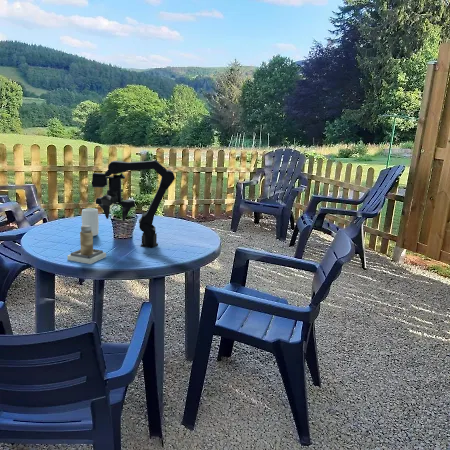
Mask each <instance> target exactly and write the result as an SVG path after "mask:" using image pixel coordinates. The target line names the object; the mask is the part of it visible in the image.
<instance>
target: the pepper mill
mask: <svg viewBox="0 0 450 450" xmlns="http://www.w3.org/2000/svg"><path fill="white" fill-rule="evenodd" d="M79 239H80V240H79V242H80V249H81V254H82V255H87V256H89V255H91V254H93V249H94V240H93V239H94V236H93V232H92V231H91V226H90V225H84V226H82V225H81V226H80V232H79Z"/></svg>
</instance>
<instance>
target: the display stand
mask: <svg viewBox="0 0 450 450" xmlns="http://www.w3.org/2000/svg"><path fill="white" fill-rule="evenodd" d="M66 257H67V261H71V262H78V263H82V264H88V265H91V264H94V263H96V262H99V261H100V260H102V259H105V258H107V252H106V251H104V250H101V249H96V248H95V249H94V248H93V254H91V255H89V256H87V255H82V254H81V248H80V249H78V250H75V251H73V252H71V253H70V254H68V255H66Z"/></svg>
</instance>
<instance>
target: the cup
mask: <svg viewBox="0 0 450 450" xmlns="http://www.w3.org/2000/svg"><path fill="white" fill-rule="evenodd" d="M99 218H100V217H99V210H98V208H94V207H91V208H90V207H89V208H88V207H87V208H82V210H81V226H84V225H90V226H91V231H92V232H93V237H95V236H97V235H99V231H100V230H99V229H100V227H99V226H100V225H99V224H100V222H99Z"/></svg>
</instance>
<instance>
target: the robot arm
mask: <svg viewBox="0 0 450 450" xmlns="http://www.w3.org/2000/svg"><path fill="white" fill-rule="evenodd" d="M142 170H154V172H155V173H157V174H158V175H159V176H161V177H160V182H159V186H158V188H157V190H156V193H155V194H154V197H153V198H152V201H151V203H150V205H149V207H148V209H147V211H145V213H144V212H142V213H141V216H140V218H139V219H138V226H139V230H140V231H141V232H142V233H141V234H142V235H141V244H140V247H146V248H151V249H152V248H155V247H156V246H158V245H159V243H158V241H157V236H158V235H157V234H158V233H156V227H155V225H154V224H153V222H154V219H155V215H156V213H157V210H158V208H159V206H160V204H161V202H162V200H163V198H164V196H165V194H166V191H167V190H168V188H170V186H172V184H173V182H174V181H175V179H176V178H175V173H174V172H173V171H172V170H171V169H167V168H166V167H164V166H163V165H162V164H161V163H160V162H159V161H157V160H155V159H153V160H143V161H121V160H112V161H110V163H108V166H107V170H105V172H104V173H103V172H102V173H100V172H99V173H98V172H93V173H92V180H91V187H92V188H101V189H102V188H103V189H105V188H106V186H108V189H107V190H106V194H104V195H103V196H100V197H96V199H95V205H97V206H98V207H100V208H101V209H102V211H103V214H104V216H105V219H106V220H108V219H109V218H110V209H111V208H110V207H111V206H112V205H118V206H121V208H120V209H121V213H122V222H125V221H126V218H127V217H128V214H129V212H130V211H131V209H133V208H134V207H136V203H135V201H134V200H133V199H132V200H131V199H127V200H124V198H123V197H122V193H123V192H124V189H122V180H125V179H126V176H125V175H124V174H123V173H125V172H129V171H142ZM111 175H113V176H111Z"/></svg>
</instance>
